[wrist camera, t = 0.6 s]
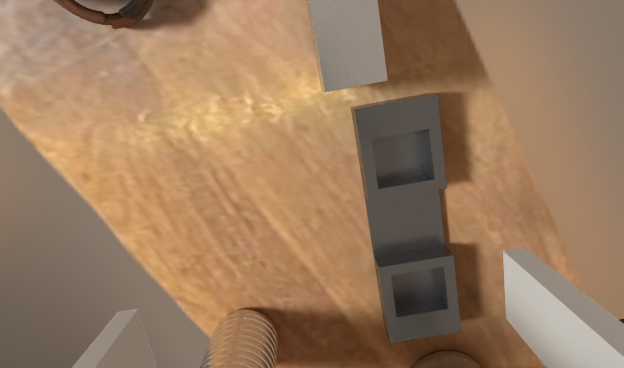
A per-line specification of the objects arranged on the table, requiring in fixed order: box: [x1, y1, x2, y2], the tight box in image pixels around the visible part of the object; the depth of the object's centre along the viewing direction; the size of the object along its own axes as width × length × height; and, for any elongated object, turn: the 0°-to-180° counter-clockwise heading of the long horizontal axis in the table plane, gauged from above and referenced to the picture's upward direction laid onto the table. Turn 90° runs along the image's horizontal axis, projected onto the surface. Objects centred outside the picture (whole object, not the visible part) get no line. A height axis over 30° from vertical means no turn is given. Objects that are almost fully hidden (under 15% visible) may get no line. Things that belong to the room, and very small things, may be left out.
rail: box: [351, 93, 461, 343], centre depth 37 cm, size 23×7×3 cm, turn 10°
